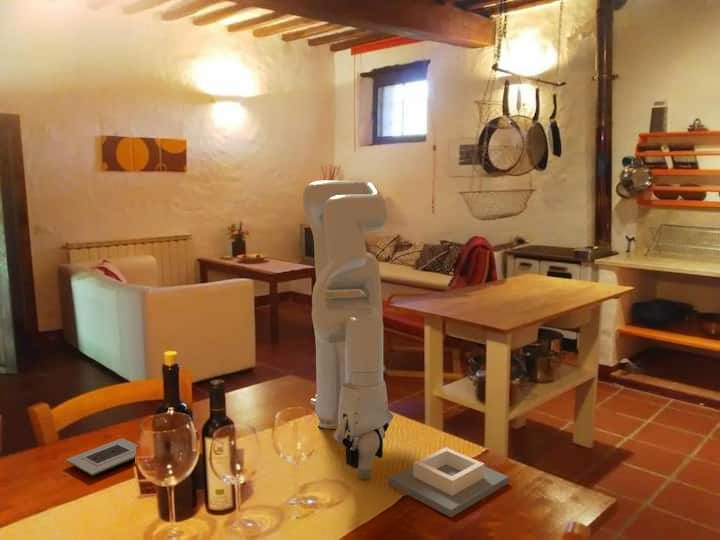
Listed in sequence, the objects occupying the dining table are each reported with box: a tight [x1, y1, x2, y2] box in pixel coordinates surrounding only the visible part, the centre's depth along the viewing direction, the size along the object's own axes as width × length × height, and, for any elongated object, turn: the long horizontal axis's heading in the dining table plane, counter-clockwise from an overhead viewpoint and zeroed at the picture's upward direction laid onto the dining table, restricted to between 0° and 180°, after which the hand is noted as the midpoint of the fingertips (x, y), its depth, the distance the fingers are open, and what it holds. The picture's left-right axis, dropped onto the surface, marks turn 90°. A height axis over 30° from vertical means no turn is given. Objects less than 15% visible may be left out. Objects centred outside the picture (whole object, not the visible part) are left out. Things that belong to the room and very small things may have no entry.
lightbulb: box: [350, 430, 380, 480], centre depth 122 cm, size 6×6×11 cm
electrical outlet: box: [65, 438, 137, 477], centre depth 131 cm, size 13×10×2 cm
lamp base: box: [388, 446, 509, 518], centre depth 121 cm, size 16×18×4 cm
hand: (364, 459), depth 123 cm, fingers closed on lightbulb, 6 cm apart
